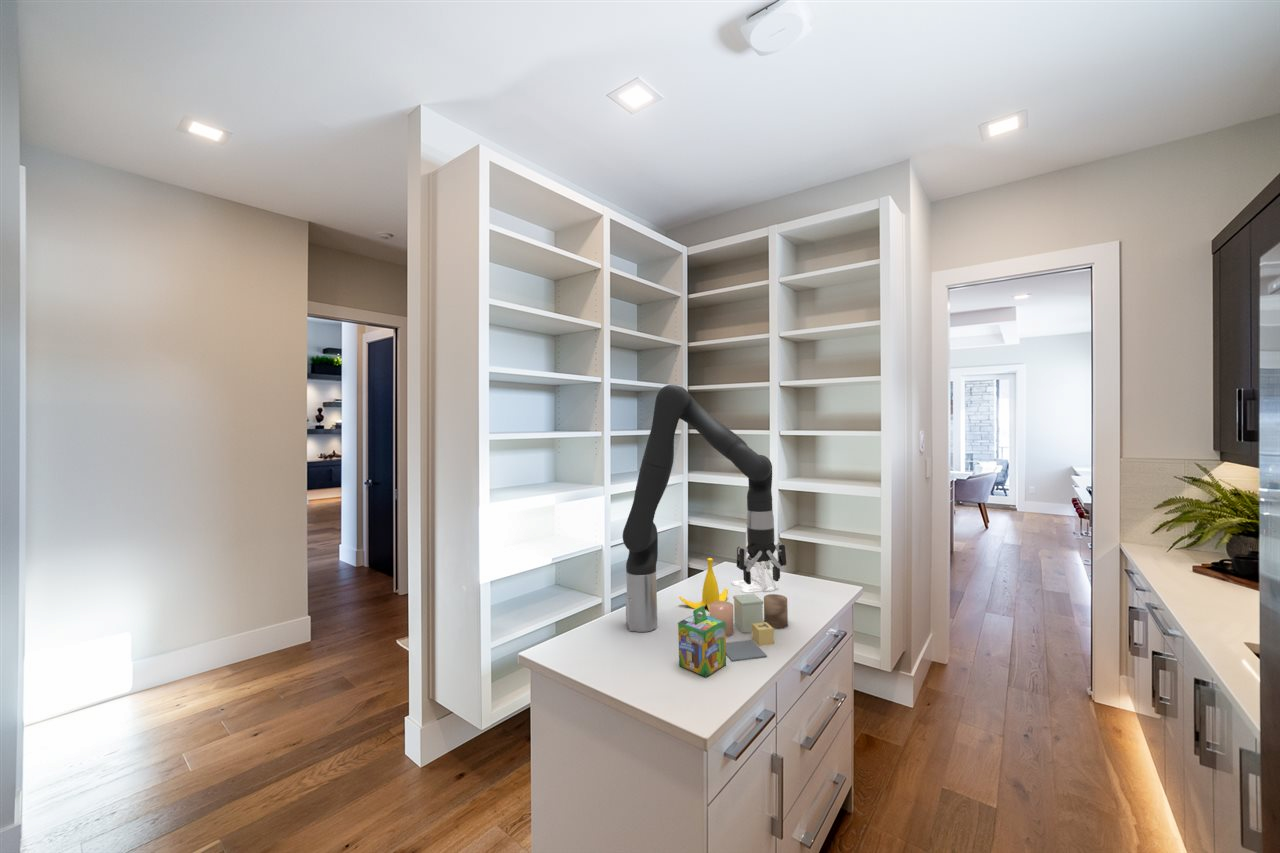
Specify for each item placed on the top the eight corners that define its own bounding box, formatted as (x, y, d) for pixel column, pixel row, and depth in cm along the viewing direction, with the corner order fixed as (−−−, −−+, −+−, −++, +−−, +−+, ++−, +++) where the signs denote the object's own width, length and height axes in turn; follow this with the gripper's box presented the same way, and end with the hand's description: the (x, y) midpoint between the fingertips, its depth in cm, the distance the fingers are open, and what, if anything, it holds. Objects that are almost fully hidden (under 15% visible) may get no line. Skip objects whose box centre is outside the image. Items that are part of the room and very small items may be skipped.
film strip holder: (728, 582, 198) (727, 530, 198) (761, 578, 202) (760, 527, 201) (744, 594, 184) (743, 539, 184) (780, 590, 188) (779, 536, 187)
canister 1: (714, 638, 149) (714, 610, 149) (706, 628, 156) (706, 602, 156) (737, 635, 151) (736, 608, 151) (728, 625, 158) (727, 599, 157)
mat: (731, 661, 135) (731, 660, 135) (718, 644, 145) (718, 643, 145) (767, 657, 137) (767, 655, 137) (751, 640, 147) (751, 639, 147)
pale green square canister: (742, 633, 152) (741, 603, 152) (733, 623, 159) (733, 595, 159) (763, 630, 154) (763, 601, 153) (754, 621, 160) (753, 593, 160)
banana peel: (677, 606, 175) (676, 557, 175) (726, 597, 182) (725, 550, 182) (701, 624, 160) (699, 570, 159) (753, 614, 167) (752, 563, 166)
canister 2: (770, 629, 154) (770, 603, 154) (760, 620, 161) (759, 595, 161) (792, 627, 155) (791, 601, 155) (781, 618, 162) (780, 593, 162)
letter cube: (759, 646, 144) (758, 629, 144) (752, 639, 148) (751, 623, 148) (773, 644, 145) (773, 628, 145) (766, 637, 149) (766, 621, 149)
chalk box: (706, 678, 127) (704, 619, 127) (677, 666, 133) (676, 609, 133) (727, 664, 134) (726, 608, 133) (699, 653, 140) (698, 599, 140)
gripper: (742, 530, 141) (744, 589, 142) (789, 526, 145) (791, 583, 145) (731, 525, 149) (733, 580, 149) (777, 521, 152) (778, 575, 152)
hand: (762, 582), depth 147 cm, fingers open, 8 cm apart
